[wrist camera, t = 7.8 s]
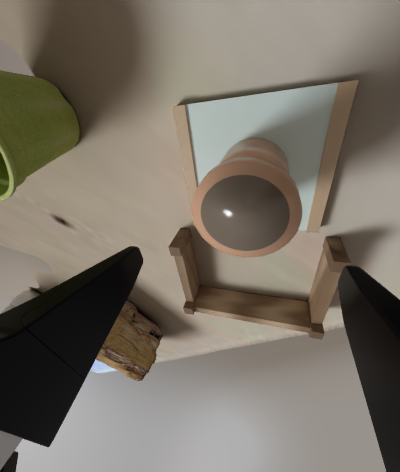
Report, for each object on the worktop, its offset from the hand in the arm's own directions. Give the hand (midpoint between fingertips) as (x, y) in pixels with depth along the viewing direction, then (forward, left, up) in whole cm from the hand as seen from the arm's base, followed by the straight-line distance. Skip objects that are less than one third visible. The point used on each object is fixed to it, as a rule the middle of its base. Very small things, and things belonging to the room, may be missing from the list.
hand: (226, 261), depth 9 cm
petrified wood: (+25, +27, -12) cm, 39 cm away
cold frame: (0, +12, -11) cm, 16 cm away
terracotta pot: (0, 0, -11) cm, 11 cm away
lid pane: (0, 0, -11) cm, 11 cm away
